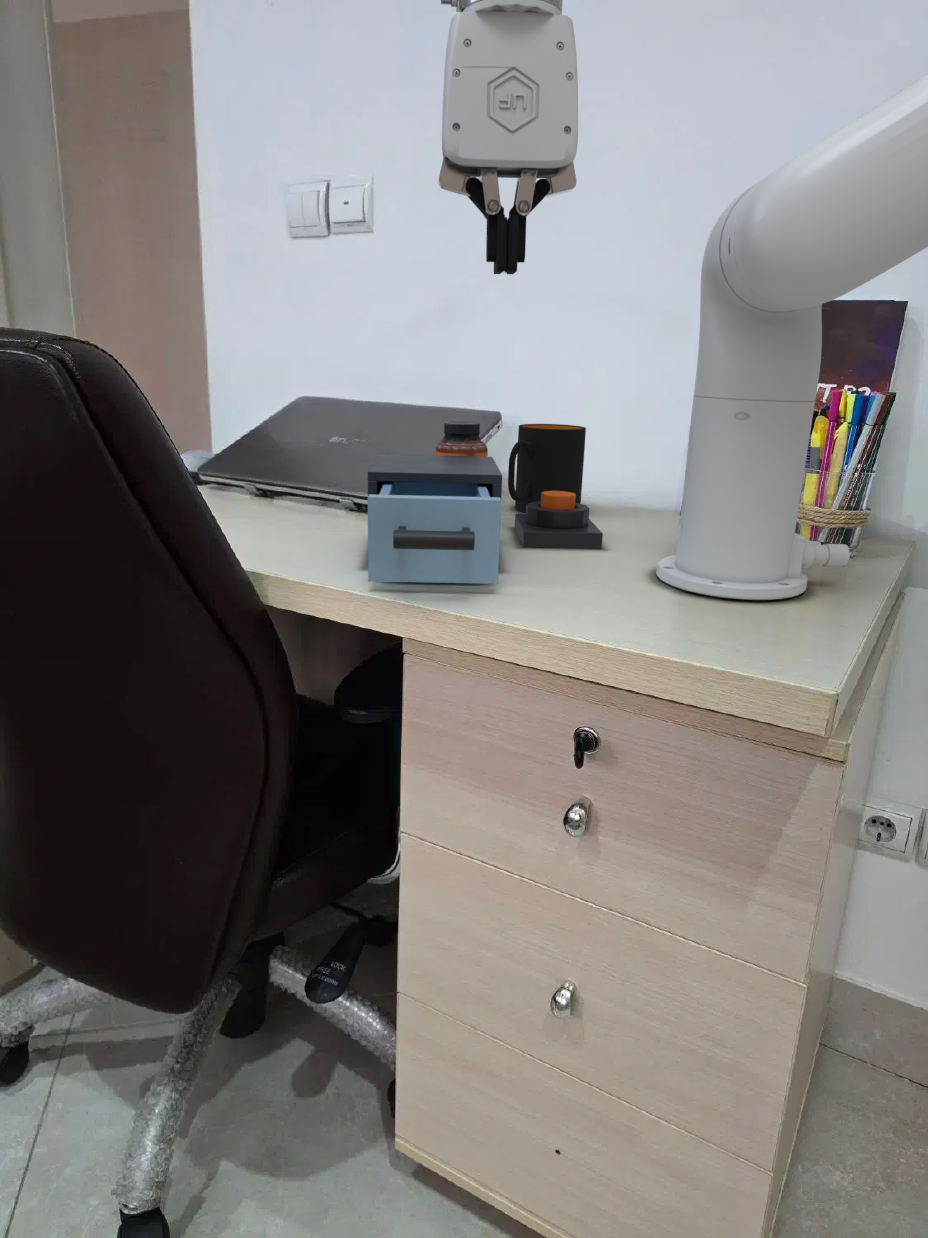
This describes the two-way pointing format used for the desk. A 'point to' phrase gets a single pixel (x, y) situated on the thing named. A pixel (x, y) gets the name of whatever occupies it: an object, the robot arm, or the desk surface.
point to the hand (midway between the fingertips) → (505, 271)
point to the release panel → (557, 528)
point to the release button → (558, 500)
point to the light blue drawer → (433, 533)
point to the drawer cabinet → (434, 471)
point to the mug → (546, 462)
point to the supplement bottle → (461, 440)
